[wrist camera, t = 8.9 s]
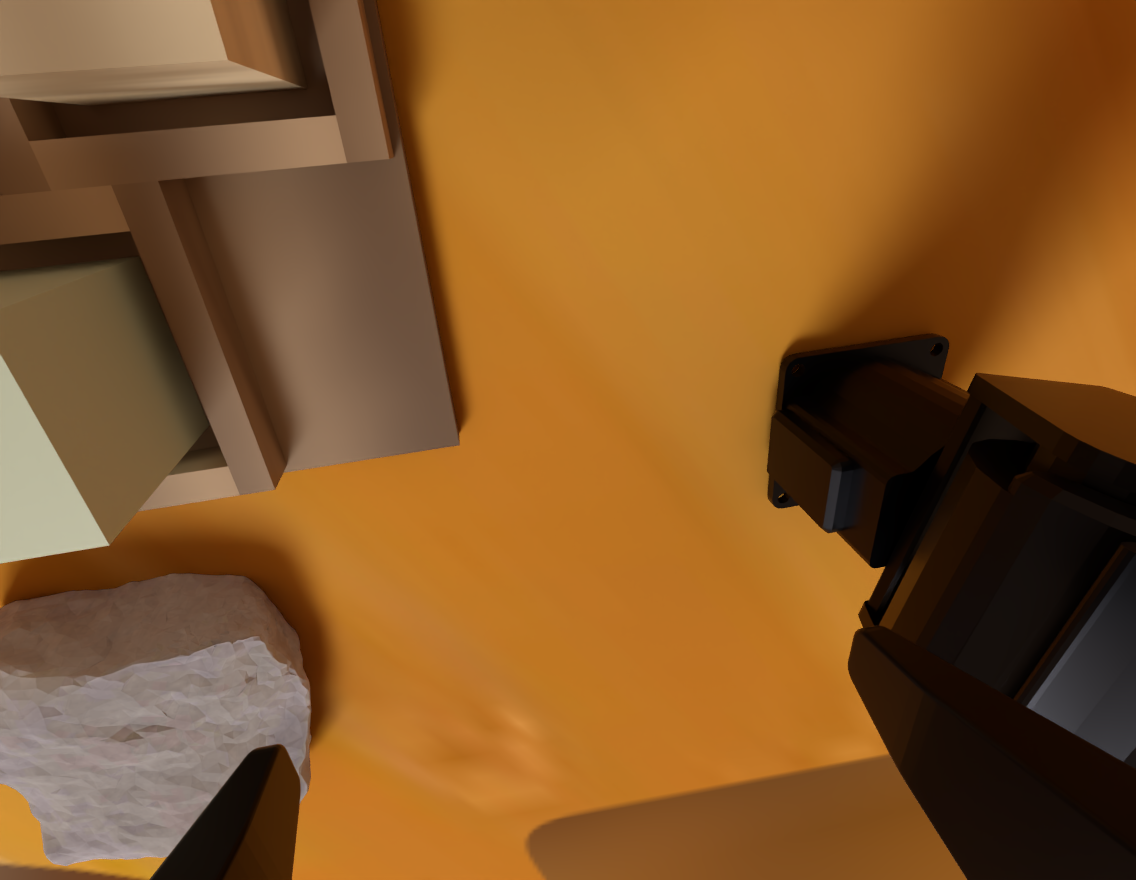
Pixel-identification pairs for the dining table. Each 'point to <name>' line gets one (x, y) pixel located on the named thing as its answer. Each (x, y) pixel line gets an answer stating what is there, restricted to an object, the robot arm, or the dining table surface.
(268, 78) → the oak block
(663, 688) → the dining table surface
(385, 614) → the dining table surface
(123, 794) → the stone block
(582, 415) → the dining table surface
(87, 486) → the sage block
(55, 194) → the walnut base board
